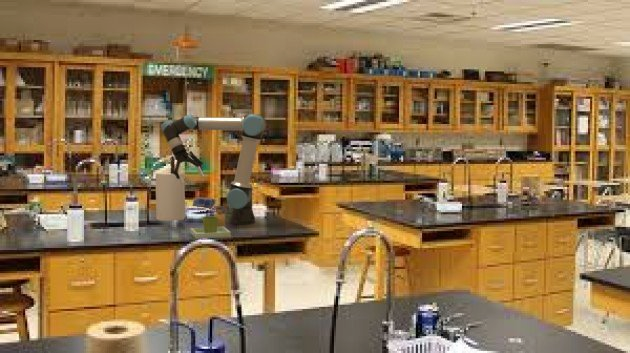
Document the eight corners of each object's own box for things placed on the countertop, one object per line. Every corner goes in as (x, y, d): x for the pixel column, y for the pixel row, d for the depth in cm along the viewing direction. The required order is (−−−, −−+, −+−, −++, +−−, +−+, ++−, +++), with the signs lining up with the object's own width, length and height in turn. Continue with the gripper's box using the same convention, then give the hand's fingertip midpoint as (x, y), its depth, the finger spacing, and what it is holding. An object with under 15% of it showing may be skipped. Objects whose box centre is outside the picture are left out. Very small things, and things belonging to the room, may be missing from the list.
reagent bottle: (223, 229, 384) (223, 205, 383) (226, 230, 379) (226, 207, 377) (213, 229, 382) (213, 206, 381) (215, 231, 377) (215, 207, 375)
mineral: (196, 214, 438) (196, 198, 437) (191, 212, 446) (191, 197, 446) (218, 213, 445) (217, 197, 444) (212, 211, 453) (212, 196, 452)
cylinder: (182, 221, 412) (181, 174, 410) (153, 220, 412) (152, 174, 410) (187, 216, 429) (187, 171, 427) (160, 216, 430) (159, 171, 427)
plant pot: (212, 231, 371) (211, 215, 370) (223, 234, 364) (223, 217, 364) (198, 234, 364) (197, 217, 363) (209, 236, 358) (208, 219, 357)
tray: (223, 232, 375) (223, 226, 375) (230, 237, 358) (230, 232, 358) (190, 233, 369) (190, 228, 369) (196, 239, 352) (196, 233, 352)
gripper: (192, 144, 401) (208, 177, 398) (155, 154, 384) (171, 188, 381) (198, 139, 395) (213, 172, 392) (160, 149, 379) (176, 183, 376)
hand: (192, 180), depth 387 cm, fingers open, 13 cm apart
